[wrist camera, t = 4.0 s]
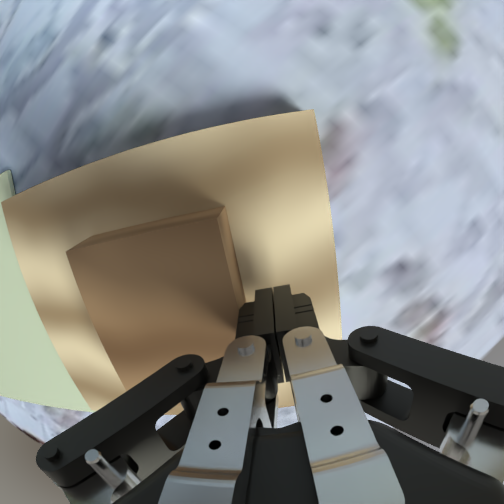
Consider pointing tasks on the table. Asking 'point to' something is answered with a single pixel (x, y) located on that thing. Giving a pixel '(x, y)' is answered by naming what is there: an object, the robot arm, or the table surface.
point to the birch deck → (178, 203)
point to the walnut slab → (161, 291)
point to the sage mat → (27, 335)
